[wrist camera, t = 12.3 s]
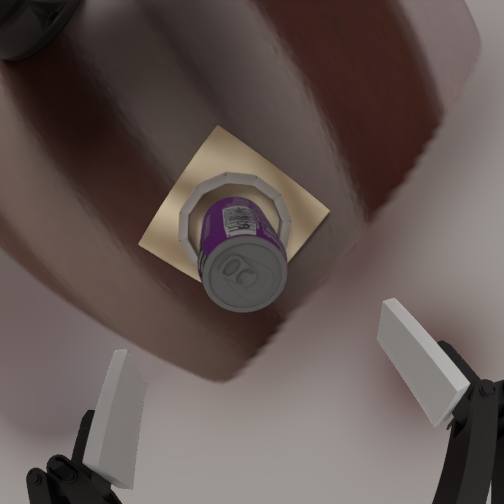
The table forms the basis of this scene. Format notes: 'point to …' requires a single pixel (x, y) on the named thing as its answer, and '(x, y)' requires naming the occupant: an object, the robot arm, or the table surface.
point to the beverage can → (240, 256)
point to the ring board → (222, 186)
